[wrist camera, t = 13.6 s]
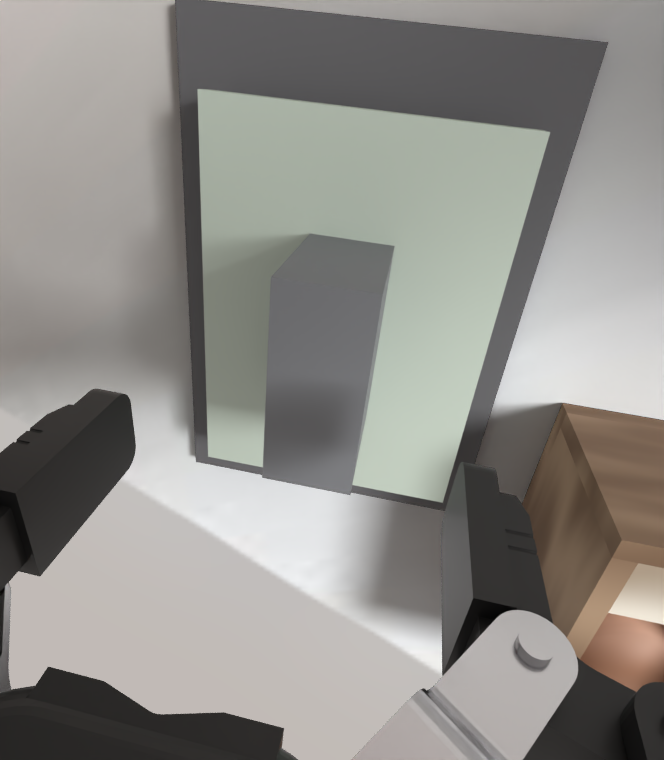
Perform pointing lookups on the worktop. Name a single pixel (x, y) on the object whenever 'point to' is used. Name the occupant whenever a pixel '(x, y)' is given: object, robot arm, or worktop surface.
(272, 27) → the rubber mat
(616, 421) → the walnut box
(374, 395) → the lid
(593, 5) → the worktop surface
